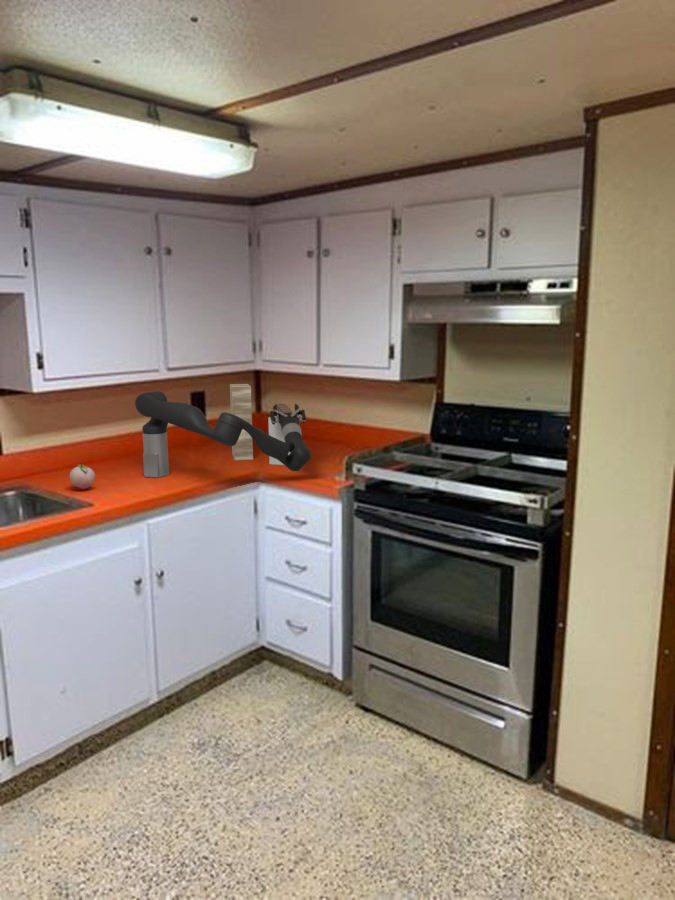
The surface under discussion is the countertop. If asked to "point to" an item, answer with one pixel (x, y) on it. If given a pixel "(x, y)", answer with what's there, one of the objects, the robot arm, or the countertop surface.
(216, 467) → the countertop surface
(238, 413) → the tall stand
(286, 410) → the long wooden bar
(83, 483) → the decorative fruit
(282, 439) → the short block
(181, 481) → the countertop surface
